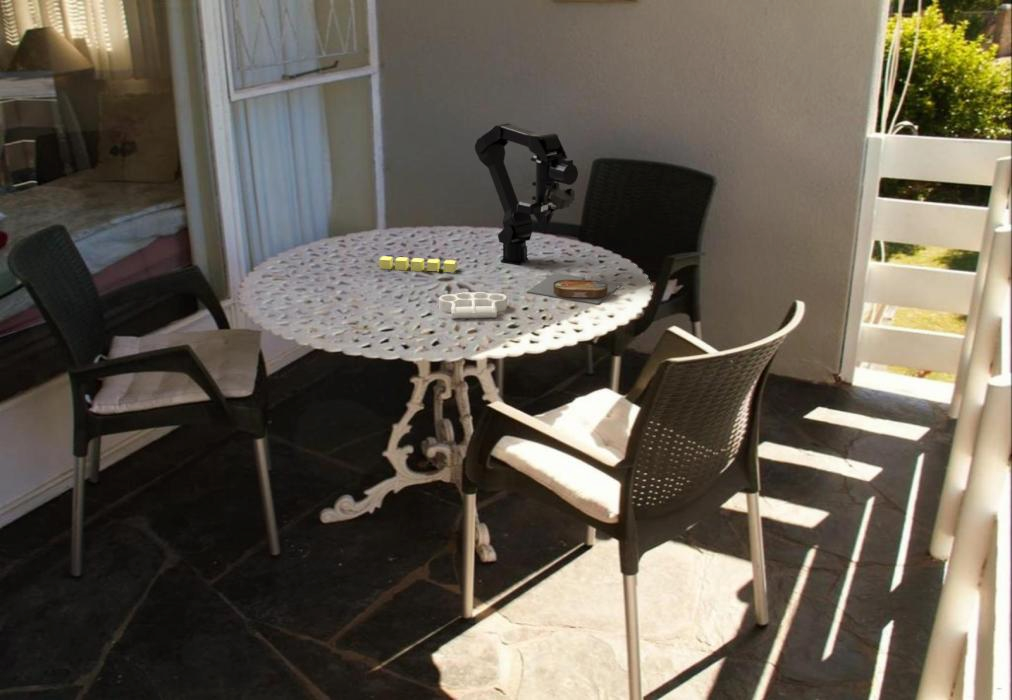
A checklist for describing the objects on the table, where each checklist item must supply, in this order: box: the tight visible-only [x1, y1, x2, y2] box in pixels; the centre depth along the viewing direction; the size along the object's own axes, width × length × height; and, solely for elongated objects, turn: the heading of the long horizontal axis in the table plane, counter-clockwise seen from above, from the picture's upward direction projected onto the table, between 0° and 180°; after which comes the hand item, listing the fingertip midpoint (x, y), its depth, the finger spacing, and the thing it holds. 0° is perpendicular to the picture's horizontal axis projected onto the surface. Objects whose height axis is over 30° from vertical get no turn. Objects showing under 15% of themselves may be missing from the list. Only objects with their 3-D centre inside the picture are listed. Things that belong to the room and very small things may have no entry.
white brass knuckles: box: [438, 291, 508, 320], centre depth 266 cm, size 3×18×15 cm
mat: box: [526, 272, 623, 306], centre depth 283 cm, size 21×19×1 cm
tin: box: [553, 279, 608, 298], centre depth 277 cm, size 15×3×8 cm
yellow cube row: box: [378, 255, 458, 273], centre depth 300 cm, size 32×32×3 cm
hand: (544, 231), depth 293 cm, fingers closed
